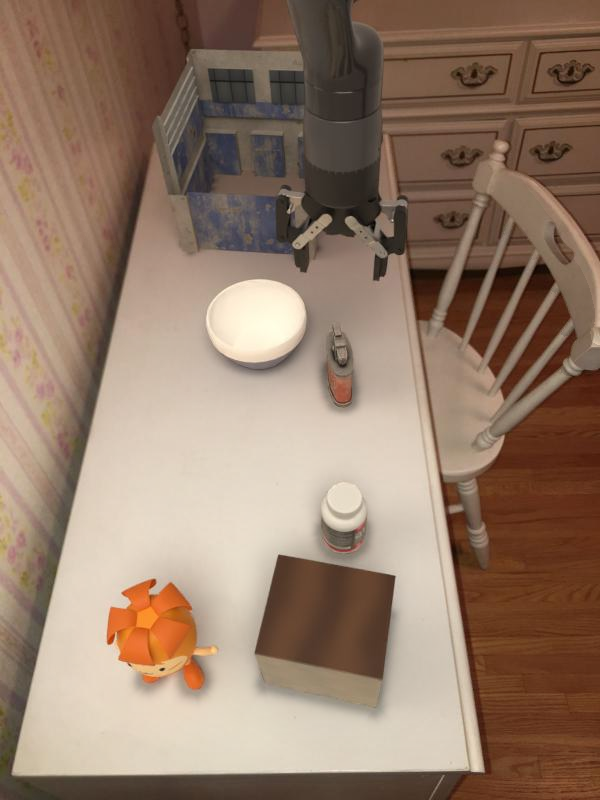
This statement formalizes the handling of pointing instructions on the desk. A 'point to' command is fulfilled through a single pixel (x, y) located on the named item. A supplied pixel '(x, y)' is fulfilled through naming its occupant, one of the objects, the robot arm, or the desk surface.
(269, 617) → the block
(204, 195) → the building
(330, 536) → the pill bottle
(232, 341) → the bowl
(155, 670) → the toy figure
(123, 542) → the desk surface
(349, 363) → the lighter
